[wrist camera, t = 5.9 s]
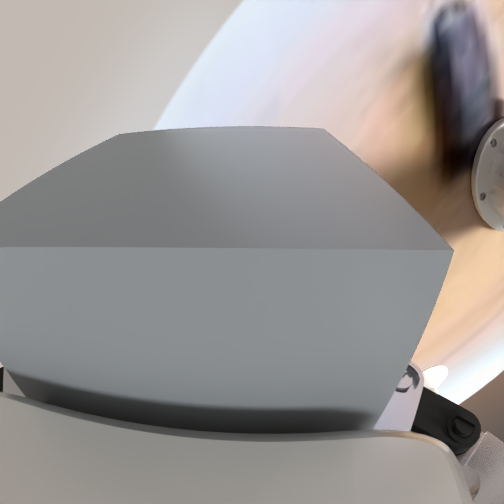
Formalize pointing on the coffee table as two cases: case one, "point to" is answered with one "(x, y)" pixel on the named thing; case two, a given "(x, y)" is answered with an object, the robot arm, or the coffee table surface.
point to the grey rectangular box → (216, 282)
